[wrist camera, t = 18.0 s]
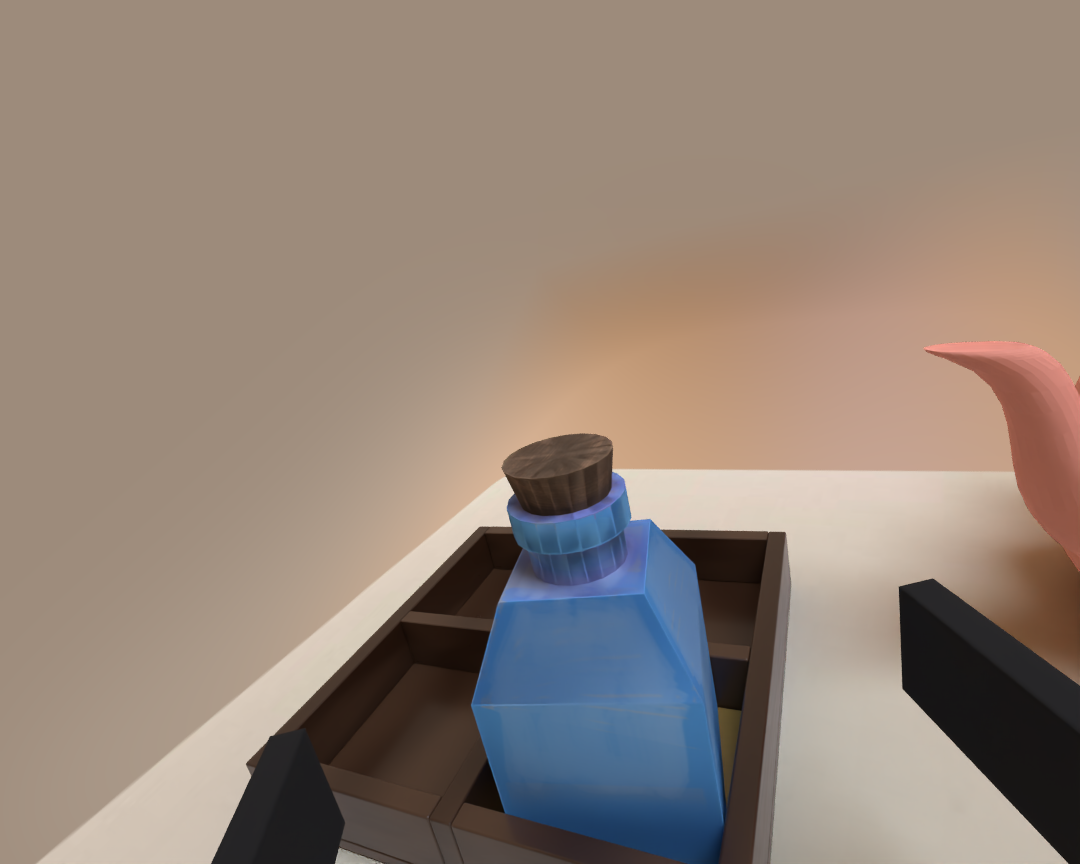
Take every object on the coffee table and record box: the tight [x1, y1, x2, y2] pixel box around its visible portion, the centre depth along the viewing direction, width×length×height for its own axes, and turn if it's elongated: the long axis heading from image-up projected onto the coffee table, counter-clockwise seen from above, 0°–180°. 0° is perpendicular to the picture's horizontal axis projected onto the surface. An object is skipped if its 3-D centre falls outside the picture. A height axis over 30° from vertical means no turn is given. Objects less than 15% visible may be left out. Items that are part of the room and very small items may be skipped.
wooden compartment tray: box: [246, 527, 791, 864], centre depth 25 cm, size 17×17×3 cm
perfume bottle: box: [471, 434, 727, 864], centre depth 18 cm, size 6×6×12 cm
